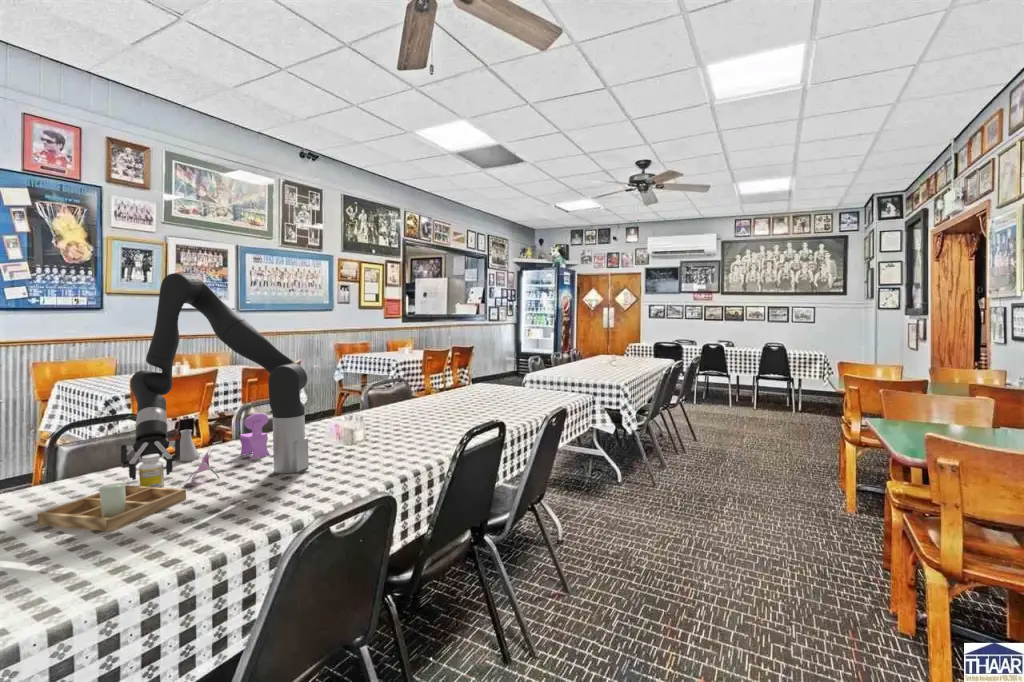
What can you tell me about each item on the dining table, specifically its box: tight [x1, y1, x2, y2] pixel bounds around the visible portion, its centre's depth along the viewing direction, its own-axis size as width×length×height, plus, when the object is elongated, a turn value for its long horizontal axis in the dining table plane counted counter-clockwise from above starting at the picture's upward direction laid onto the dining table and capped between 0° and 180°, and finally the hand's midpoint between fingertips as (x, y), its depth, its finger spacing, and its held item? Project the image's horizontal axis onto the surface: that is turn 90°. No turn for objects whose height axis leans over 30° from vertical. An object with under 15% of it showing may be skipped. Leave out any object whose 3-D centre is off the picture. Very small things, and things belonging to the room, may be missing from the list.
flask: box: [178, 429, 201, 462], centre depth 168 cm, size 7×7×10 cm
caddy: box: [37, 484, 187, 532], centre depth 121 cm, size 20×20×3 cm
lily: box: [185, 448, 220, 483], centre depth 147 cm, size 12×12×10 cm
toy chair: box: [239, 412, 271, 460], centre depth 173 cm, size 8×9×15 cm
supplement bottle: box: [138, 454, 165, 488], centre depth 138 cm, size 5×5×10 cm
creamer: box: [99, 482, 126, 518], centre depth 115 cm, size 5×5×8 cm
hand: (151, 475), depth 137 cm, fingers open, 7 cm apart
